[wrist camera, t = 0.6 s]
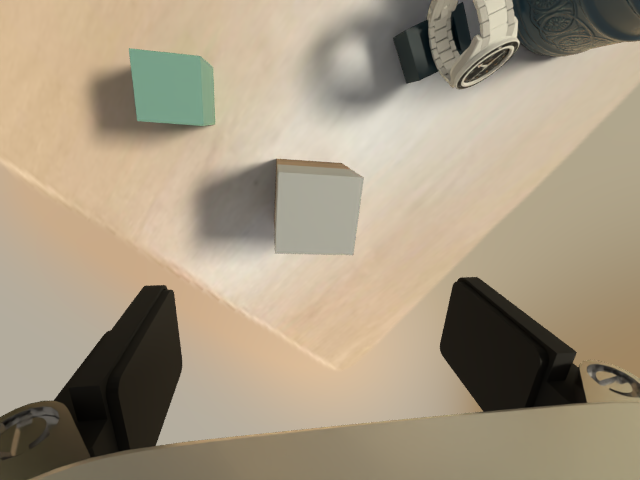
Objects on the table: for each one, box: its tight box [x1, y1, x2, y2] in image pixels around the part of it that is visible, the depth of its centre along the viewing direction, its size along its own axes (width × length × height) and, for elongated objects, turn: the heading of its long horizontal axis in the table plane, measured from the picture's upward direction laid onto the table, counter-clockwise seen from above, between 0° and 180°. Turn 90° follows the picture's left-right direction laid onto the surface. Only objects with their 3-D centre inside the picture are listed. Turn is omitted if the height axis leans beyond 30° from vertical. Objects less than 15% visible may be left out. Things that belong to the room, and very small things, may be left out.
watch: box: [393, 0, 520, 89], centre depth 27 cm, size 6×8×11 cm
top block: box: [274, 164, 364, 255], centre depth 29 cm, size 7×7×4 cm
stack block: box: [129, 48, 215, 126], centre depth 27 cm, size 5×5×6 cm
